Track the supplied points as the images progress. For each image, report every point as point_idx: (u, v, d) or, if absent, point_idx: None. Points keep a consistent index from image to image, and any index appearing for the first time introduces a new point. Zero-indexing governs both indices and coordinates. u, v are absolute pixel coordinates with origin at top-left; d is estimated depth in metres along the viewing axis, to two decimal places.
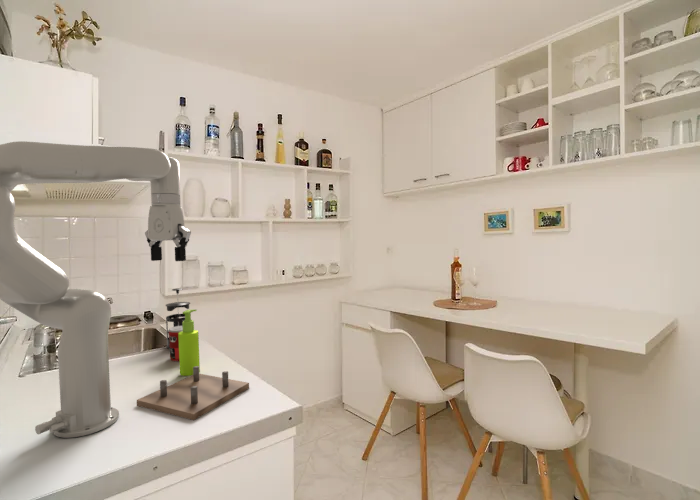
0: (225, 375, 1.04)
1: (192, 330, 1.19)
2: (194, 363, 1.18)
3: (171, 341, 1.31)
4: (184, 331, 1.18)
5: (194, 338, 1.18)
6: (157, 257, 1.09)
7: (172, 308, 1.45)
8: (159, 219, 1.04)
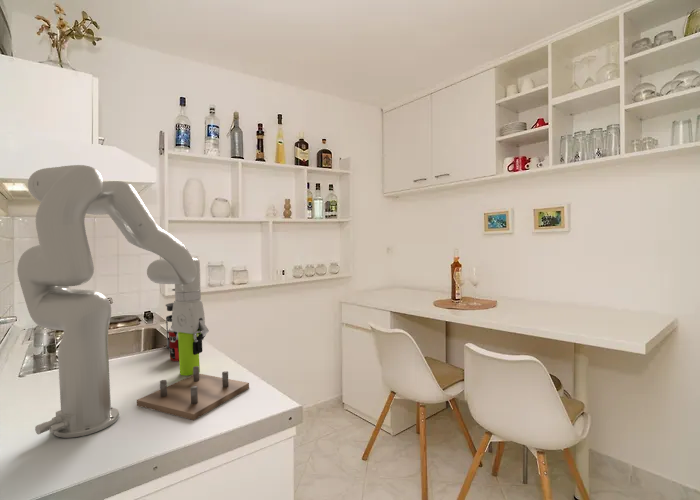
0: (225, 375, 1.04)
1: None
2: (194, 363, 1.18)
3: (171, 341, 1.31)
4: None
5: (193, 338, 1.18)
6: None
7: (172, 308, 1.45)
8: (182, 314, 1.17)
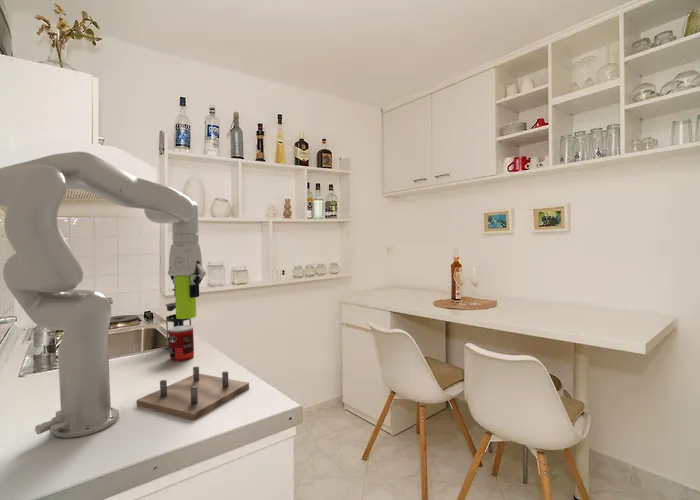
0: (225, 375, 1.04)
1: None
2: (190, 306, 1.16)
3: (171, 341, 1.31)
4: None
5: None
6: None
7: (172, 308, 1.45)
8: (179, 257, 1.16)
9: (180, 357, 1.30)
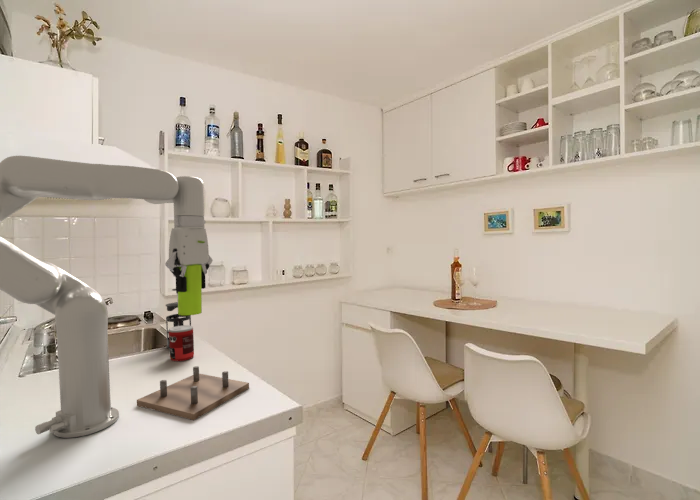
0: (225, 375, 1.04)
1: None
2: (179, 301, 0.99)
3: (171, 341, 1.31)
4: None
5: None
6: None
7: (172, 308, 1.45)
8: None
9: (180, 357, 1.30)
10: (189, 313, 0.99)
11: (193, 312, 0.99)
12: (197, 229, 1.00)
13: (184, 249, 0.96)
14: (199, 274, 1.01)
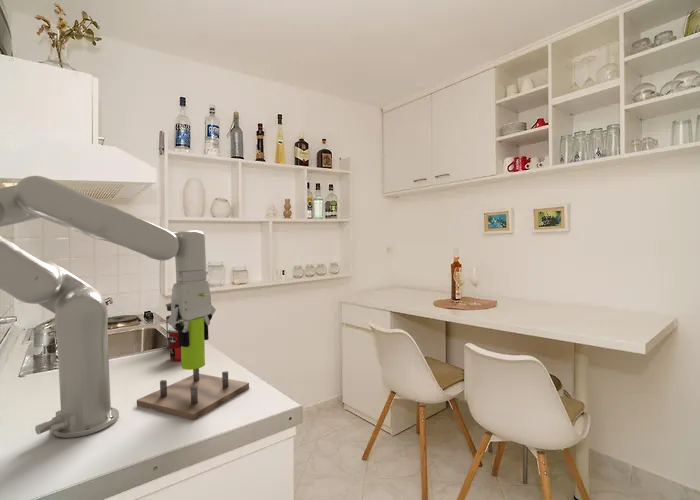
0: (225, 375, 1.04)
1: None
2: (182, 355, 0.99)
3: (171, 341, 1.31)
4: None
5: None
6: None
7: None
8: None
9: (180, 357, 1.30)
10: (192, 367, 0.99)
11: (196, 366, 0.99)
12: (199, 283, 1.00)
13: (186, 305, 0.96)
14: (202, 327, 1.00)
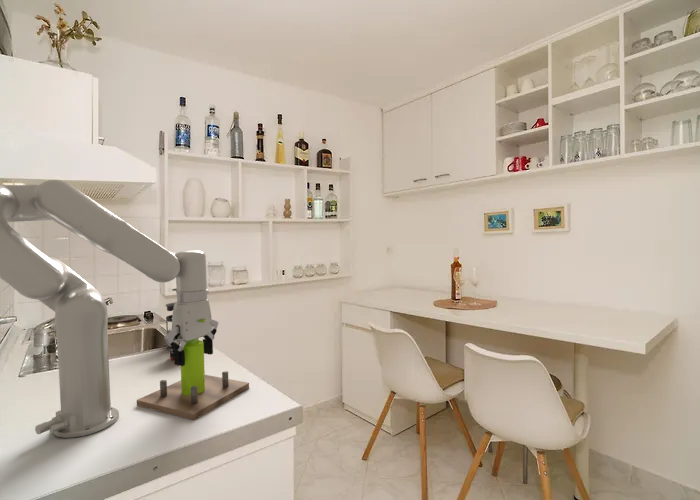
0: (225, 375, 1.04)
1: (187, 342, 0.99)
2: (182, 381, 0.99)
3: None
4: None
5: None
6: (206, 351, 1.05)
7: (172, 308, 1.45)
8: None
9: None
10: None
11: None
12: (199, 303, 1.00)
13: (186, 325, 0.96)
14: (201, 353, 1.00)
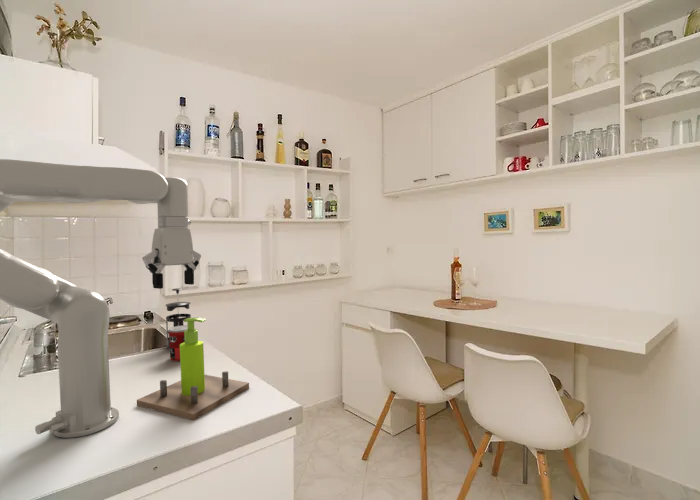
0: (225, 375, 1.04)
1: (186, 342, 1.00)
2: (182, 381, 0.99)
3: (171, 341, 1.31)
4: None
5: (181, 352, 0.99)
6: (187, 281, 1.06)
7: (172, 308, 1.45)
8: None
9: None
10: None
11: None
12: (180, 229, 1.01)
13: (165, 249, 0.98)
14: (201, 352, 1.01)
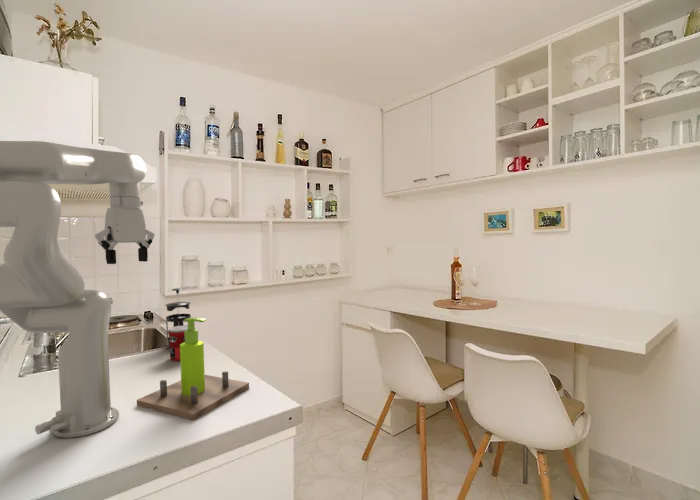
0: (225, 375, 1.04)
1: (187, 342, 1.00)
2: (182, 381, 0.99)
3: (171, 341, 1.31)
4: None
5: (182, 352, 0.99)
6: (141, 258, 1.13)
7: (172, 308, 1.45)
8: None
9: None
10: None
11: None
12: (132, 209, 1.08)
13: (117, 227, 1.04)
14: (201, 353, 1.01)
